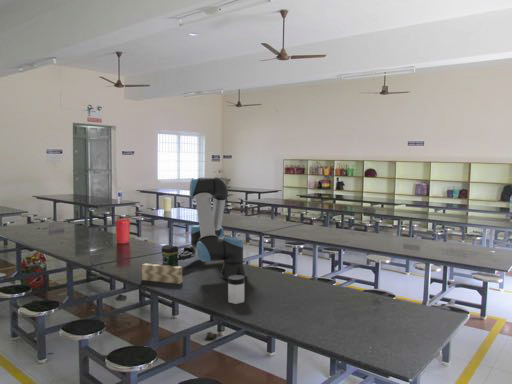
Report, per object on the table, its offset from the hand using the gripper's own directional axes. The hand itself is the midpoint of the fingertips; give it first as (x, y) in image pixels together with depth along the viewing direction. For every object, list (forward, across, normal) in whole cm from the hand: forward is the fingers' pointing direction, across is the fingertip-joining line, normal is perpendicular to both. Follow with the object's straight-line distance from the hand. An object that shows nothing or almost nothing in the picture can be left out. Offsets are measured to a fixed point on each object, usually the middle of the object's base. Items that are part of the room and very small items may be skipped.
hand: (172, 260), depth 246 cm
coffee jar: (+4, -1, -8) cm, 9 cm away
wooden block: (+14, -1, -8) cm, 16 cm away
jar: (+30, -52, -9) cm, 61 cm away
